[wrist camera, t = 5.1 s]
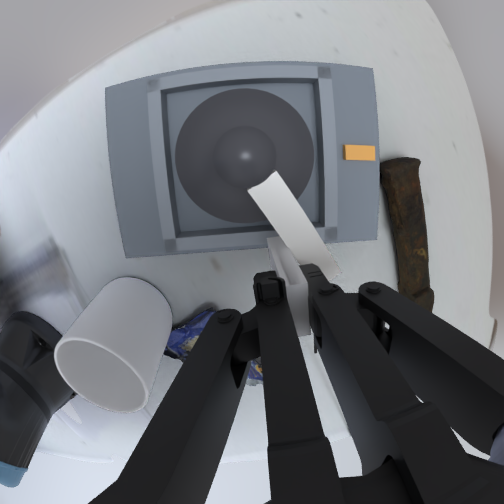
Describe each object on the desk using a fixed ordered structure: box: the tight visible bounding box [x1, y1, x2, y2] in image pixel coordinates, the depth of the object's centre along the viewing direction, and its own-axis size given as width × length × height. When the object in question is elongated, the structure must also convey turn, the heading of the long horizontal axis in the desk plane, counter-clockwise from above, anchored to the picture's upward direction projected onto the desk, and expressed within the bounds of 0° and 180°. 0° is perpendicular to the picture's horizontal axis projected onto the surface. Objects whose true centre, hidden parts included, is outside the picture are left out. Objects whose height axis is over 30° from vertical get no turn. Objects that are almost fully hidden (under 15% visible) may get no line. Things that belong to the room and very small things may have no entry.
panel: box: [105, 61, 380, 258], centre depth 20 cm, size 22×15×4 cm
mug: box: [54, 277, 172, 413], centre depth 23 cm, size 9×12×11 cm
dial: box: [175, 88, 342, 281], centre depth 17 cm, size 13×10×7 cm
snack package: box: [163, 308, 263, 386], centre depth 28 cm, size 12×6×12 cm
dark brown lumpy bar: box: [379, 157, 434, 313], centre depth 24 cm, size 19×4×5 cm, turn 17°
